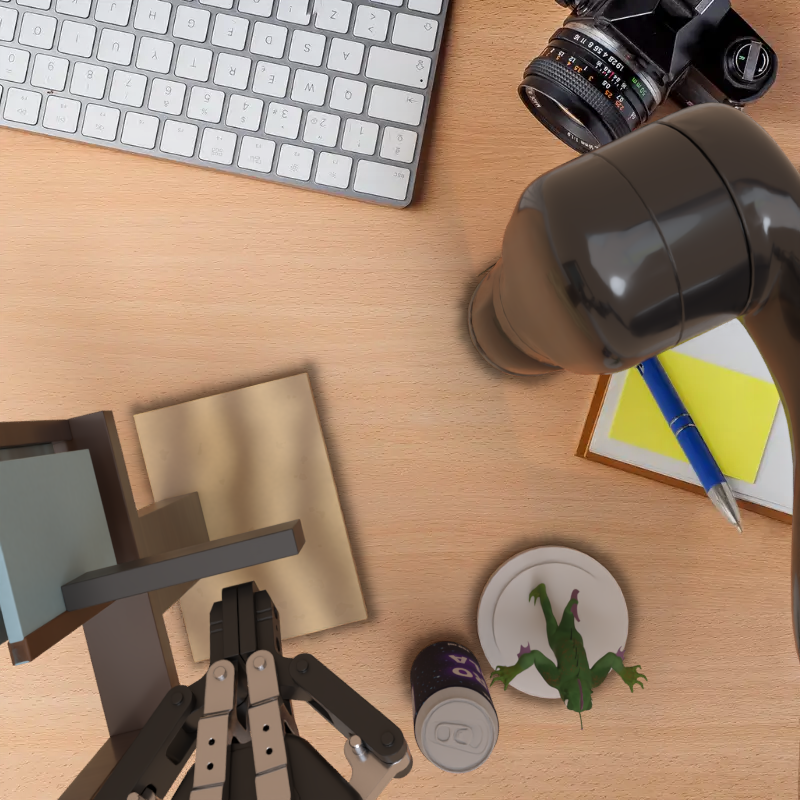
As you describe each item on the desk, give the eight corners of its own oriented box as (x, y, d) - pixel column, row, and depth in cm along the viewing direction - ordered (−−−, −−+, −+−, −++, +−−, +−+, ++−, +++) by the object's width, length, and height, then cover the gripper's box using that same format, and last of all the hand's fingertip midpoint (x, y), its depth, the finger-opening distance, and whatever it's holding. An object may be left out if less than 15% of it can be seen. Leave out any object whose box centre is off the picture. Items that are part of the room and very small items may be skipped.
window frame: (184, 408, 61) (-73, 412, 27) (242, 644, 60) (59, 945, 27) (134, 421, 60) (-186, 440, 27) (192, 656, 60) (-55, 975, 27)
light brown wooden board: (308, 372, 62) (306, 372, 61) (368, 614, 62) (367, 619, 61) (137, 414, 62) (132, 415, 60) (197, 658, 62) (194, 663, 60)
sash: (282, 400, 41) (244, 398, 30) (317, 545, 41) (292, 596, 30) (76, 451, 41) (-37, 468, 30) (112, 597, 41) (12, 667, 30)
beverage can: (476, 712, 62) (496, 784, 50) (405, 704, 62) (409, 774, 50) (484, 641, 62) (506, 696, 50) (414, 633, 62) (419, 687, 50)
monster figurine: (476, 694, 62) (493, 751, 52) (477, 544, 62) (494, 572, 52) (624, 694, 62) (671, 752, 52) (625, 545, 62) (672, 573, 52)
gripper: (107, 1135, 26) (137, 664, 38) (485, 1035, 26) (395, 598, 39) (-10, 1129, 21) (68, 585, 33) (463, 1004, 21) (367, 510, 33)
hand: (244, 592), depth 36 cm, fingers closed
